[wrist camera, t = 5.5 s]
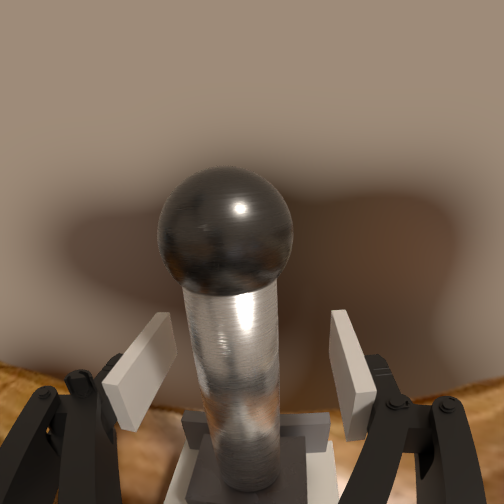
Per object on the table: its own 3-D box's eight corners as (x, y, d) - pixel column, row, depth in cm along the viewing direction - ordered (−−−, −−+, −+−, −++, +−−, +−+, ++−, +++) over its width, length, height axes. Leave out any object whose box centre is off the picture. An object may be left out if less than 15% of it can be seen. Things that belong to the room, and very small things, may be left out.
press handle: (208, 452, 17) (161, 173, 12) (303, 454, 16) (308, 162, 12) (192, 513, 12) (95, 180, 7) (304, 519, 11) (327, 159, 7)
